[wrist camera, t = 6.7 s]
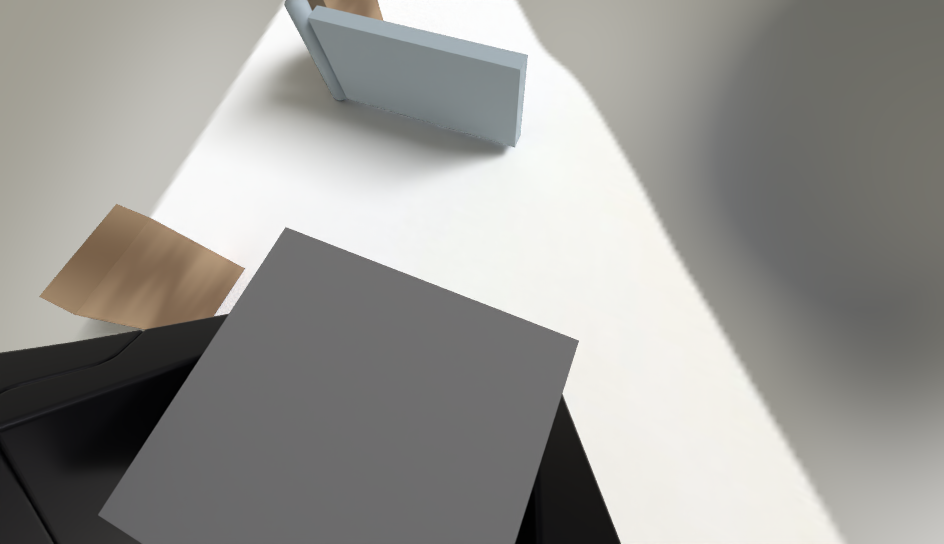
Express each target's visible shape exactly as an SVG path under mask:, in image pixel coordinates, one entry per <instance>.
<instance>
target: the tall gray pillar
mask: <svg viewBox="0 0 944 544" xmlns="http://www.w3.org/2000/svg"><path fill="white" fill-rule="evenodd" d="M578 342H579V341H578V340H576V339H573V338H571V337H568V336H565V335H563V334H560V333H558V332H555V331H553V330H550V329H547V328H545V327H542V326H540V325H537V324H534V323H532V322H529V321H527V320H524V319H522V318H519V317H516V316H514V315H511V314H509V313H506V312H503V311H501V310H498V309H496V308H493V307H491V306H488V305H485V304H483V303H480V302H478V301H475V300H472V299H470V298H467V297H465V296H462V295H460V294H457V293H454V292H452V291H449V290H447V289H444V288H441V287H439V286H436V285H434V284H431V283H429V282H426V281H423V280H421V279H418V278H416V277H413V276H410V275H408V274H405V273H403V272H400V271H398V270H395V269H392V268H390V267H387V266H385V265H382V264H379V263H377V262H374V261H372V260H369V259H367V258H364V257H361V256H359V255H356V254H354V253H351V252H348V251H346V250H343V249H341V248H338V247H336V246H333V245H330V244H328V243H325V242H323V241H320V240H317V239H315V238H312V237H310V236H307V235H305V234H302V233H299V232H297V231H294V230H292V229H289V228H285V229H284V231H283V232H282V234H281V235H280V237H279V238H278V240H277V241H276V243H275V244H274V246H273V247H272V249H271V251H270V252H269V254H268V255H267V257H266V258H265V260H264V261H263V263H262V264H261V266H260V267H259V269H258V270H257V272H256V274H255V275H254V277H253V278H252V280H251V281H250V283H249V284H248V286H247V287H246V289H245V290H244V292H243V293H242V295H241V296H240V298H239V300H238V301H237V303H236V304H235V306H234V307H233V309H232V310H231V312H230V313H229V315H228V316H227V318H226V319H225V321H224V323H223V324H222V326H221V327H220V329H219V330H218V332H217V333H216V335H215V336H214V338H213V339H212V341H211V342H210V344H209V346H208V347H207V349H206V350H205V352H204V353H203V355H202V356H201V358H200V359H199V361H198V362H197V364H196V365H195V367H194V368H193V370H192V372H191V373H190V375H189V376H188V378H187V379H186V381H185V382H184V384H183V385H182V387H181V388H180V390H179V391H178V393H177V395H176V396H175V398H174V399H173V401H172V402H171V404H170V405H169V407H168V408H167V410H166V411H165V413H164V414H163V416H162V418H161V419H160V421H159V422H158V424H157V425H156V427H155V428H154V430H153V431H152V433H151V434H150V436H149V437H148V439H147V440H146V442H145V444H144V445H143V447H142V448H141V450H140V451H139V453H138V454H137V456H136V457H135V459H134V460H133V462H132V463H131V465H130V467H129V468H128V470H127V471H126V473H125V474H124V476H123V477H122V479H121V480H120V482H119V483H118V485H117V486H116V488H115V490H114V491H113V493H112V494H111V496H110V497H109V499H108V500H107V502H106V503H105V505H104V506H103V508H102V509H101V511H100V512H99V514H98V515H99V516H100V517H102V518H103V519H105V520H106V521H108V522H110V523H111V524H113V525H114V526H116V527H117V528H119V529H120V530H122V531H123V532H125V533H126V534H128V535H129V536H131V537H133V538H134V539H136V540H137V541H139V542H140V543H142V544H515V541H516V538H517V535H518V532H519V529H520V525H521V522H522V519H523V516H524V513H525V510H526V506H527V503H528V500H529V497H530V494H531V491H532V487H533V484H534V481H535V478H536V475H537V472H538V469H539V465H540V462H541V459H542V456H543V453H544V450H545V446H546V443H547V440H548V437H549V434H550V431H551V427H552V424H553V421H554V418H555V415H556V412H557V408H558V405H559V402H560V399H561V396H562V393H563V389H564V386H565V383H566V380H567V377H568V374H569V370H570V367H571V364H572V361H573V358H574V355H575V352H576V348H577V345H578Z"/></svg>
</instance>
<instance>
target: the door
mask: <svg viewBox="0 0 944 544" xmlns="http://www.w3.org/2000/svg"><path fill="white" fill-rule="evenodd" d="M285 7H286V9H287V11H288V13H289V15H290V17H291V18H292V20H293V22H294V24H295V26H296V28H297V30H298V32H299V34H300V35H301V37H302V39H303V41H304V43H305V45H306V47H307V49H308V50H309V52H310V54H311V56H312V58H313V60H314V62H315V64H316V66H317V67H318V69H319V71H320V73H321V75H322V77H323V79H324V81H325V82H326V84H327V86H328V88H329V90H330V92H331V94H332V96H333V98H334V99H336V100H344V99H346V98H347V99H350V100H353V101H357V102H360V103H363V104H367V105H370V106H374V107H377V108H381V109H384V110H388V111H391V112H394V113H398V114H401V115H405V116H408V117H412V118H415V119H419V120H422V121H426V122H429V123H432V124H436V125H439V126H443V127H446V128H450V129H453V130H457V131H460V132H463V133H467V134H470V135H474V136H477V137H481V138H484V139H488V140H491V141H494V142H498V143H501V144H505V145H508V146H512V147H515V146H516V144H517V141H518V139H519V137H520V133H521V122H522V111H523V101H524V90H525V79H526V68H527V57H528V55H526V54H521V53H517V52H513V51H509V50H504V49H500V48H496V47H492V46H487V45H483V44H479V43H475V42H471V41H466V40H462V39H458V38H454V37H449V36H445V35H441V34H437V33H432V32H428V31H424V30H420V29H415V28H411V27H407V26H403V25H399V24H394V23H390V22H386V21H382V20H377V19H373V18H369V17H365V16H360V15H356V14H352V13H348V12H344V11H339V10H335V9H331V8H327V7H322V6H318V5H317V6H316V7H315V9H314V10H313V11H312V10H311V7H310V5H309V3H308V1H307V0H286V1H285Z"/></svg>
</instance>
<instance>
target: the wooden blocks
mask: <svg viewBox="0 0 944 544" xmlns="http://www.w3.org/2000/svg"><path fill="white" fill-rule="evenodd" d="M307 1H308V3H309V5H310V7H311V10H312V11H313V10H314V9H315V7H316V6H317V5H318V6H322V7H327V8H331V9H335V10H339V11H344V12H348V13H352V14H356V15H360V16H365V17H369V18H373V19H377V20H382V21H383V18H382V14H381V11H380V7H379V4H378V1H377V0H307ZM244 269H245V268H243V267H241V266H239V265H237V264H235V263H233V262H231V261H230V260H228V259H226V258H224V257H222V256H220V255H218V254H217V253H215V252H213V251H211V250H209V249H207V248H205V247H204V246H202V245H200V244H198V243H196V242H194V241H192V240H190V239H189V238H187V237H185V236H183V235H181V234H179V233H177V232H176V231H174V230H172V229H170V228H168V227H166V226H164V225H163V224H161V223H159V222H157V221H155V220H153V219H151V218H149V217H146V216H144V215H142V214H139V213H137V212H134V211H132V210H130V209H127V208H125V207H122V206H120V205H118V204H116V205H115V206H114V208H113V209H112V210H111V211H110V213H109V214H108V215H107V216H106V217H105V218H104V220H103V221H102V222H101V223H100V224H99V226H98V227H97V228H96V229H95V230H94V232H93V233H92V234H91V235H90V236H89V238H88V239H87V240H86V241H85V242H84V244H83V245H82V246H81V247H80V248H79V249H78V251H77V252H76V253H75V254H74V255H73V257H72V258H71V259H70V260H69V262H68V263H67V264H66V265H65V266H64V267H63V269H62V270H61V271H60V272H59V273H58V275H57V276H56V277H55V278H54V279H53V281H52V282H51V283H50V284H49V285H48V287H47V288H46V289H45V290H44V291H43V293H42V294H41V295H40V297H41V298H43V299H45V300H47V301H49V302H51V303H53V304H55V305H57V306H59V307H61V308H63V309H65V310H67V311H69V312H71V313H73V314H75V315H79V316H83V317H88V318H93V319H98V320H102V321H107V322H112V323H117V324H121V325H126V326H131V327H136V328H140V329H145V330H146V329H149V328H155V327H160V326H165V325H171V324H176V323H182V322H187V321H193V320H198V319H203V318H209V317H213V316H214V314H215V313H216V311H217V310H218V308H219V307H220V305H221V304H222V302H223V301H224V299H225V298H226V296H227V295H228V293H229V292H230V290H231V289H232V287H233V286H234V284H235V283H236V281H237V280H238V278H239V277H240V275H241V273H242V272H243V270H244Z"/></svg>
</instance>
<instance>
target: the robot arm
mask: <svg viewBox="0 0 944 544" xmlns="http://www.w3.org/2000/svg"><path fill="white" fill-rule="evenodd" d="M228 315H229V314H225V315H220V316H214V317H209V318H203V319H198V320H193V321H187V322H182V323H176V324H171V325H165V326H160V327H155V328H149V329H146V330H145V331H142V330H138V331H133V332H127V333H122V334H117V335H111V336H105V337H99V338H94V339H88V340H82V341H76V342H70V343H64V344H57V345H50V346H44V347H37V348H30V349H23V350H16V351H9V352H2V353H0V544H142V543H140V542H139V541H137V540H136V539H134V538H133V537H131V536H129V535H128V534H126V533H125V532H123V531H122V530H120V529H119V528H117V527H116V526H114V525H113V524H111V523H110V522H108V521H106V520H105V519H103V518H102V517H100V516H99V515H98V514H99V512H100V511H101V509H102V508H103V506H104V505H105V503H106V502H107V500H108V499H109V497H110V496H111V494H112V493H113V491H114V490H115V488H116V486H117V485H118V483H119V482H120V480H121V479H122V477H123V476H124V474H125V473H126V471H127V470H128V468H129V467H130V465H131V463H132V462H133V460H134V459H135V457H136V456H137V454H138V453H139V451H140V450H141V448H142V447H143V445H144V444H145V442H146V440H147V439H148V437H149V436H150V434H151V433H152V431H153V430H154V428H155V427H156V425H157V424H158V422H159V421H160V419H161V418H162V416H163V414H164V413H165V411H166V410H167V408H168V407H169V405H170V404H171V402H172V401H173V399H174V398H175V396H176V395H177V393H178V391H179V390H180V388H181V387H182V385H183V384H184V382H185V381H186V379H187V378H188V376H189V375H190V373H191V372H192V370H193V368H194V367H195V365H196V364H197V362H198V361H199V359H200V358H201V356H202V355H203V353H204V352H205V350H206V349H207V347H208V346H209V344H210V342H211V341H212V339H213V338H214V336H215V335H216V333H217V332H218V330H219V329H220V327H221V326H222V324H223V323H224V321H225V319H226V318H227V316H228ZM515 544H621V542H620V540H619V537H618V535H617V532H616V530H615V527H614V525H613V522H612V519H611V517H610V514H609V512H608V509H607V507H606V504H605V502H604V499H603V496H602V494H601V491H600V489H599V486H598V484H597V481H596V479H595V476H594V473H593V471H592V468H591V466H590V463H589V461H588V458H587V456H586V453H585V450H584V448H583V445H582V443H581V440H580V438H579V435H578V433H577V430H576V427H575V425H574V422H573V420H572V417H571V415H570V412H569V410H568V407H567V404H566V402H565V399H564V397H563V394H562V396H561V399H560V402H559V405H558V408H557V412H556V415H555V418H554V421H553V424H552V427H551V431H550V434H549V437H548V440H547V443H546V446H545V450H544V453H543V456H542V459H541V462H540V465H539V469H538V472H537V475H536V478H535V481H534V484H533V487H532V491H531V494H530V497H529V500H528V503H527V506H526V510H525V513H524V516H523V519H522V522H521V525H520V529H519V532H518V535H517V538H516V541H515Z"/></svg>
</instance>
